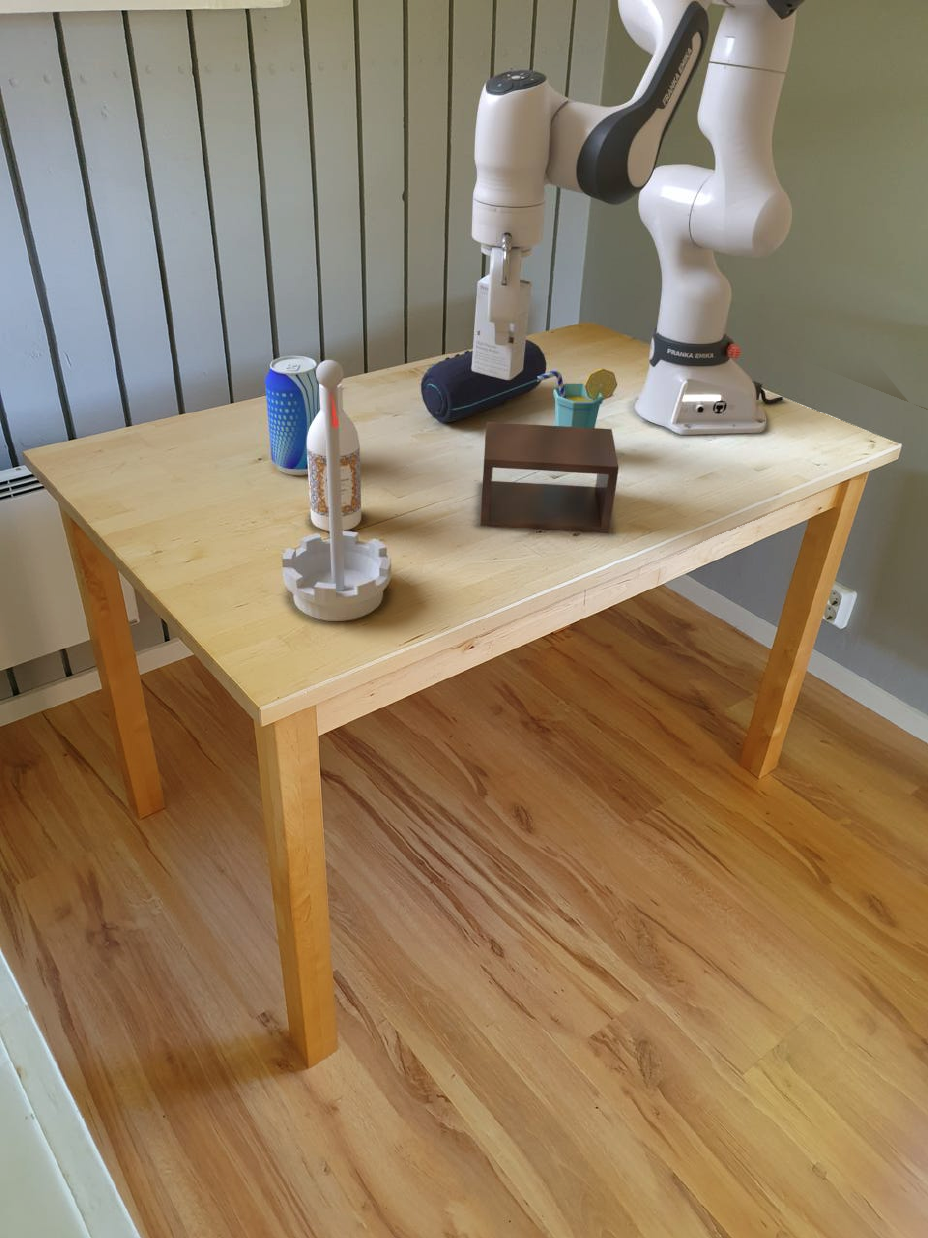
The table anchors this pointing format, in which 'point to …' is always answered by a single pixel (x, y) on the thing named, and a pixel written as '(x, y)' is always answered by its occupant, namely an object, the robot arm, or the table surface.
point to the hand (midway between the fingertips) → (501, 333)
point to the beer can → (291, 410)
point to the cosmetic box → (485, 352)
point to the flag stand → (336, 541)
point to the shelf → (549, 501)
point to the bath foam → (347, 468)
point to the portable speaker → (476, 385)
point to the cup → (581, 398)
